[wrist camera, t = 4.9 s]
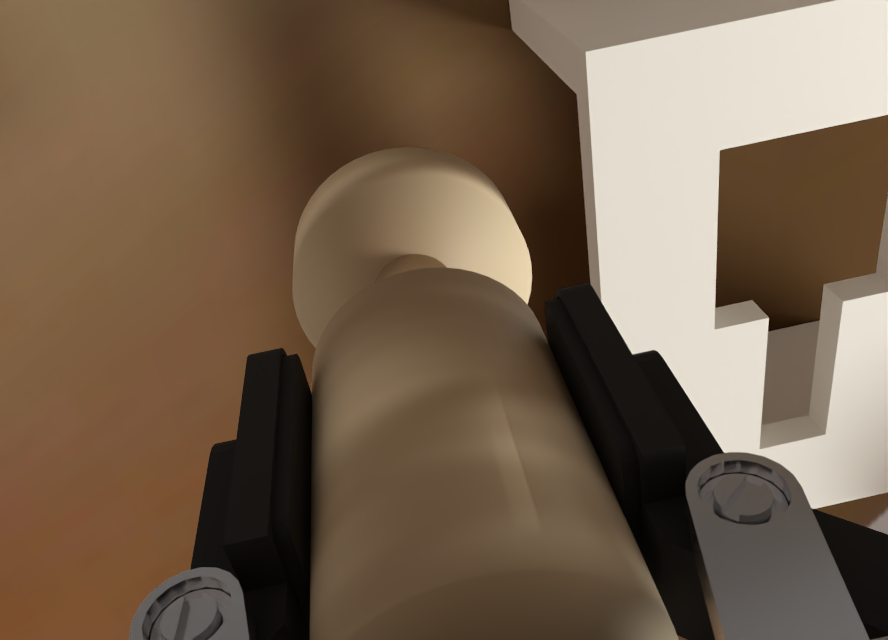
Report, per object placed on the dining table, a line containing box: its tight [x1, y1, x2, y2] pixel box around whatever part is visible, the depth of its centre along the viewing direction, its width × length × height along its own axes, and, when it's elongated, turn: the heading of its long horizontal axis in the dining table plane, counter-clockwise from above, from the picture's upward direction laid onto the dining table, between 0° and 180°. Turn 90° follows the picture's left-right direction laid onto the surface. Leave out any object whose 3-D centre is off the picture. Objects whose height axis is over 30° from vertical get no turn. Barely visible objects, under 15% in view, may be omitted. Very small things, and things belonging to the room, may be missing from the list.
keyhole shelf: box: [509, 0, 888, 509], centre depth 31 cm, size 20×14×10 cm
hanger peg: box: [292, 147, 678, 640], centre depth 13 cm, size 5×5×10 cm
